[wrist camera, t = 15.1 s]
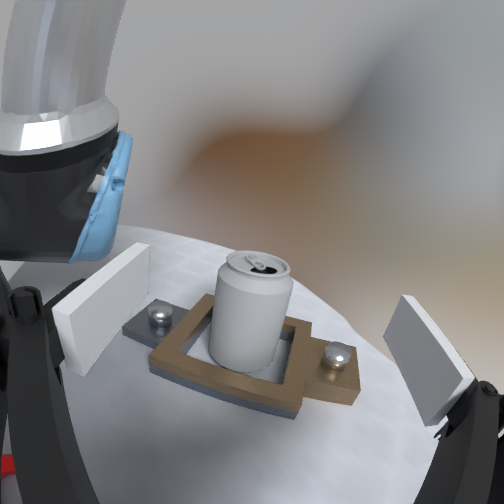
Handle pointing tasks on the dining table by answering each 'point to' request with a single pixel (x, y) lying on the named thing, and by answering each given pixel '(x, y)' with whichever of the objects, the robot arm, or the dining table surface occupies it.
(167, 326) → the chain end lower
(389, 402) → the dining table surface
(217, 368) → the chain end upper
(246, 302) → the can
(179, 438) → the dining table surface
